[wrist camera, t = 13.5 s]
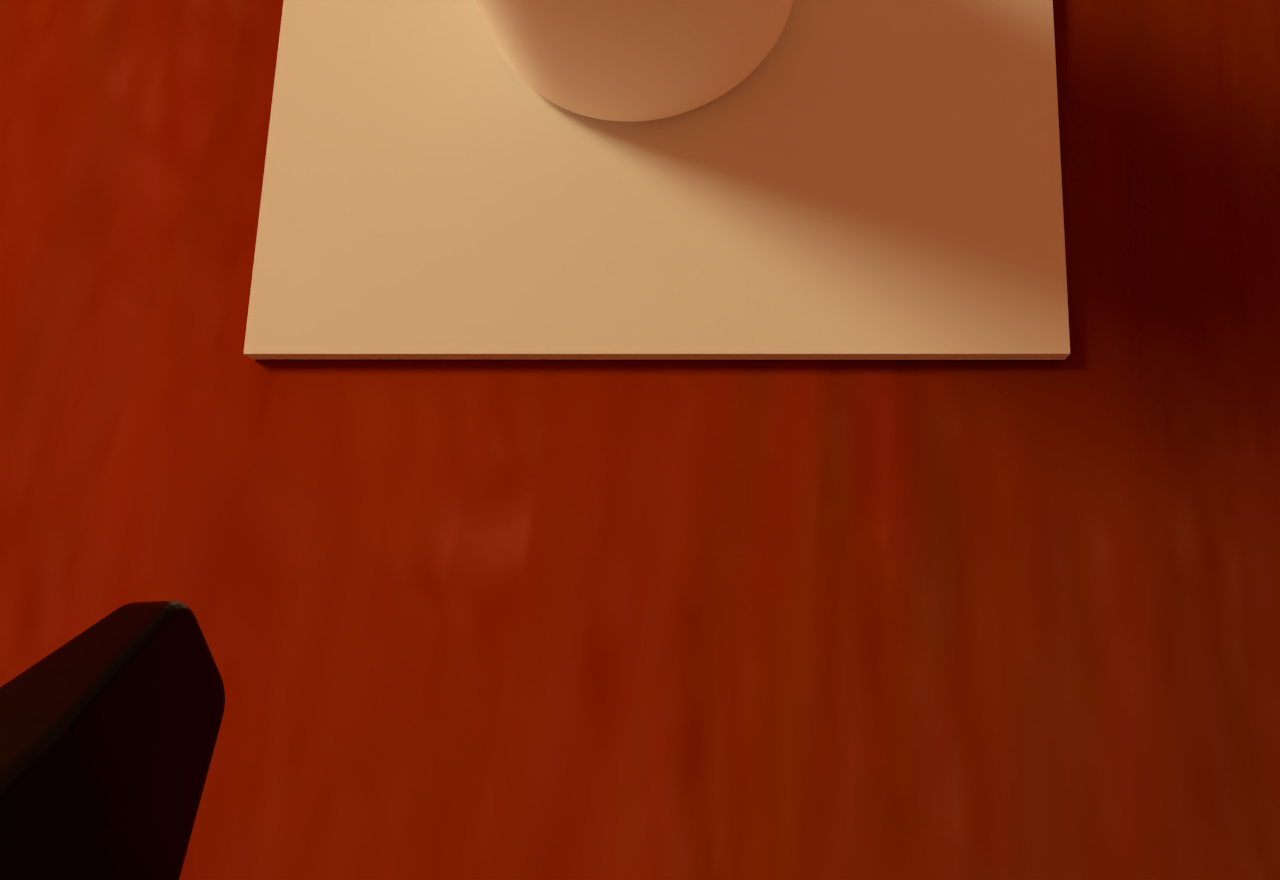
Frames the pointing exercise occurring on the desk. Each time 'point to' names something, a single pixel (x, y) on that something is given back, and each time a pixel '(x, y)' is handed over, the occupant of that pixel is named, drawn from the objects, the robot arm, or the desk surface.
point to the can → (634, 50)
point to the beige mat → (665, 196)
